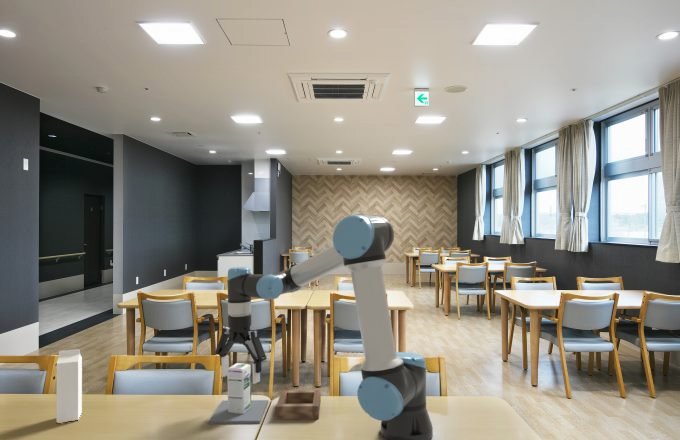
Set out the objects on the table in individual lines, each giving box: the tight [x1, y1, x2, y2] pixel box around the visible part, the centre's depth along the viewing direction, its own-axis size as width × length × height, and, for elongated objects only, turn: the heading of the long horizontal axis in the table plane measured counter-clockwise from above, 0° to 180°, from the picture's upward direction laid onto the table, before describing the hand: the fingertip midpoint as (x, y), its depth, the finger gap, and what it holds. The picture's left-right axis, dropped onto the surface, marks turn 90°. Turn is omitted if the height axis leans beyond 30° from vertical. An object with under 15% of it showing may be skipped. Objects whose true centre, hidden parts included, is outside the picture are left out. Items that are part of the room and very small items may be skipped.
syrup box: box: [226, 362, 252, 414], centre depth 143 cm, size 6×6×14 cm
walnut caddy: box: [275, 389, 322, 420], centre depth 145 cm, size 14×14×4 cm
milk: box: [55, 348, 83, 422], centre depth 140 cm, size 6×6×22 cm
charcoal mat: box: [208, 399, 269, 425], centre depth 143 cm, size 16×16×1 cm
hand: (240, 379), depth 143 cm, fingers open, 13 cm apart
